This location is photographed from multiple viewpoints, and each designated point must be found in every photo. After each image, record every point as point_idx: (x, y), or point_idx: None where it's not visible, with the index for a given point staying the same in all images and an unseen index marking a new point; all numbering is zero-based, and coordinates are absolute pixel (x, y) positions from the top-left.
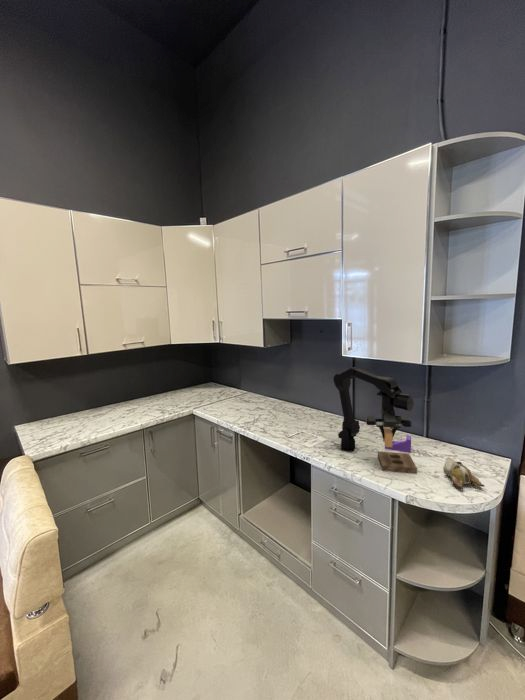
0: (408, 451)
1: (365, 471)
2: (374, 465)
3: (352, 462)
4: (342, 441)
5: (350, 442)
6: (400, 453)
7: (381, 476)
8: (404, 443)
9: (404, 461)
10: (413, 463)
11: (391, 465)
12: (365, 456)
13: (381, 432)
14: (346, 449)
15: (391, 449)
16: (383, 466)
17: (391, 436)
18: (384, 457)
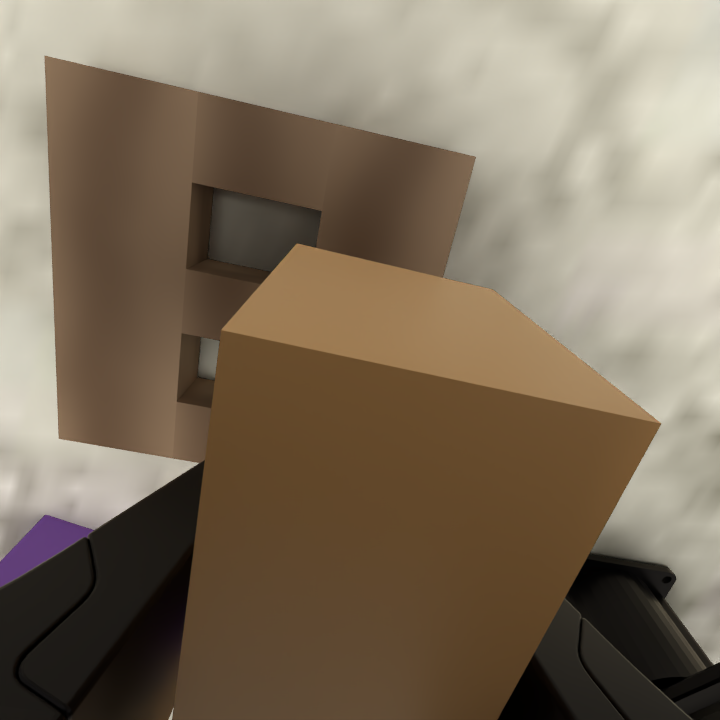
0: (59, 527)
1: (659, 151)
2: (494, 285)
3: (689, 354)
4: (703, 659)
5: (634, 638)
6: (152, 444)
7: (534, 14)
8: None
9: (161, 253)
10: (62, 194)
11: (363, 148)
12: None
13: (597, 631)
14: (630, 574)
15: None
16: (462, 155)
17: (316, 293)
18: None
